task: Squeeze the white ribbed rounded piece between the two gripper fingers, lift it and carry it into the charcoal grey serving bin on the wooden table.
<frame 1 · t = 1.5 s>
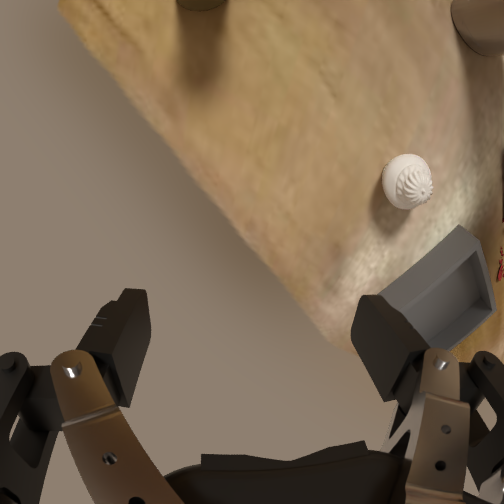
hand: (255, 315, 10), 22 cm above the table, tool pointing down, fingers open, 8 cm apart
serving bin: (434, 298, 38), on the table
white ribbed rounded piece: (393, 173, 30), on the table
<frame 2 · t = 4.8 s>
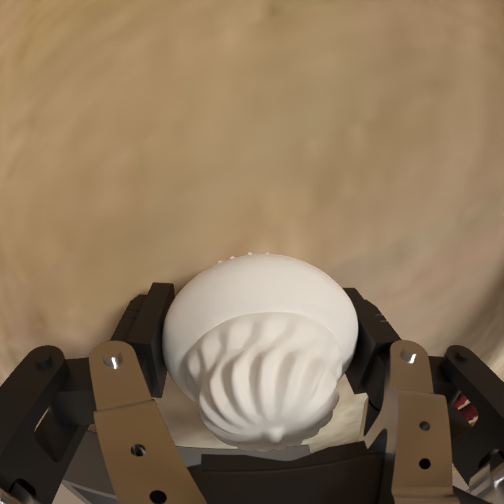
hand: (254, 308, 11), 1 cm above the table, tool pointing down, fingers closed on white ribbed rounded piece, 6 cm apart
plate with food: (436, 448, 24), on the table
serving bin: (193, 486, 19), on the table
white ribbed rounded piece: (252, 290, 12), on the table, touching gripper
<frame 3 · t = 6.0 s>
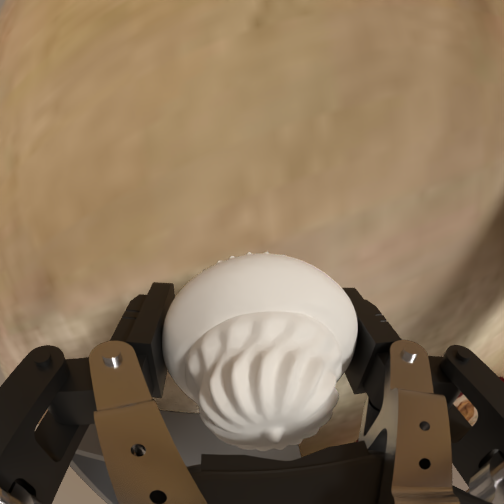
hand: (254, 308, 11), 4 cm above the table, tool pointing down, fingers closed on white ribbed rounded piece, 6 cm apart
plate with food: (420, 434, 27), on the table
serving bin: (181, 460, 22), on the table
white ribbed rounded piece: (252, 290, 12), point 3 cm above the table, touching gripper
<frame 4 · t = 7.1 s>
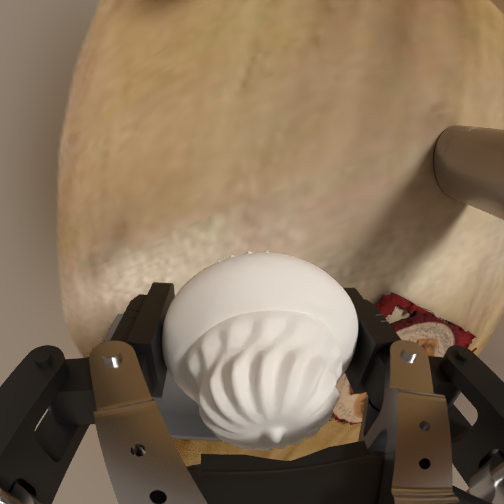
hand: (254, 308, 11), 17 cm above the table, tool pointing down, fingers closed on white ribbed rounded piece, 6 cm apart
plate with food: (389, 372, 39), on the table
serving bin: (196, 374, 34), on the table
white ribbed rounded piece: (252, 290, 12), point 16 cm above the table, touching gripper
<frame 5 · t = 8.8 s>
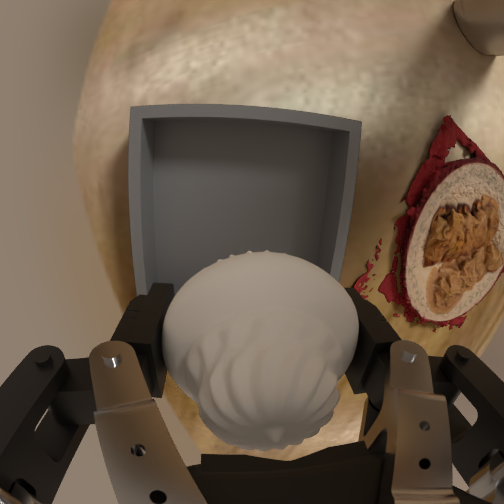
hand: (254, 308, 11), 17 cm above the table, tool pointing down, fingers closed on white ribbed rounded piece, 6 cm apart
plate with food: (457, 247, 32), on the table
serving bin: (239, 208, 27), on the table
white ribbed rounded piece: (252, 289, 12), point 16 cm above the table, touching gripper
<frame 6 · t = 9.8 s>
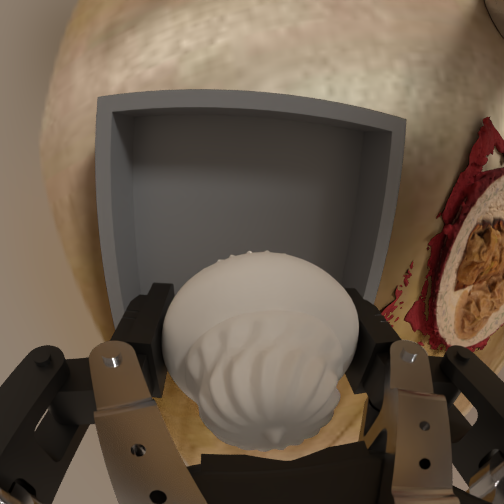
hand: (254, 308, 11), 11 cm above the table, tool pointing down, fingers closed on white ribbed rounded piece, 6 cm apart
plate with food: (488, 265, 26), on the table
serving bin: (244, 227, 21), on the table
white ribbed rounded piece: (252, 289, 12), point 10 cm above the table, touching gripper
when the fingers open (3 cm above the table, at t = 11.9 s): white ribbed rounded piece drops 1 cm, resting on serving bin.
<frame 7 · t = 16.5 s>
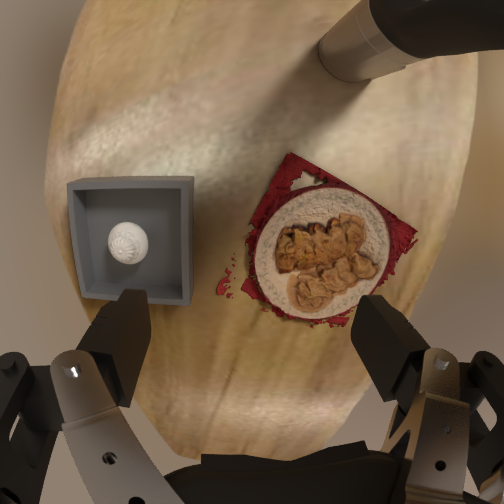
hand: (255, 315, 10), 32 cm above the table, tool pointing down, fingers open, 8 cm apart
plate with food: (321, 257, 46), on the table
serving bin: (135, 234, 41), on the table
white ribbed rounded piece: (135, 235, 41), point 1 cm above the table, touching serving bin
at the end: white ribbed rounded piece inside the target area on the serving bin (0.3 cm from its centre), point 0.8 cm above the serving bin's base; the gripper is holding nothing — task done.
